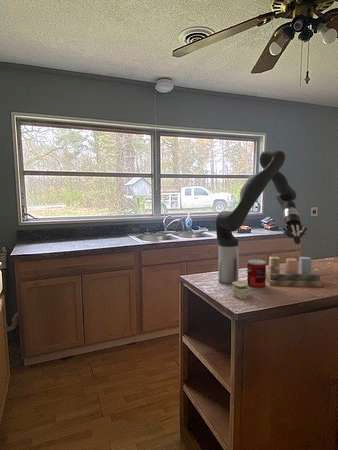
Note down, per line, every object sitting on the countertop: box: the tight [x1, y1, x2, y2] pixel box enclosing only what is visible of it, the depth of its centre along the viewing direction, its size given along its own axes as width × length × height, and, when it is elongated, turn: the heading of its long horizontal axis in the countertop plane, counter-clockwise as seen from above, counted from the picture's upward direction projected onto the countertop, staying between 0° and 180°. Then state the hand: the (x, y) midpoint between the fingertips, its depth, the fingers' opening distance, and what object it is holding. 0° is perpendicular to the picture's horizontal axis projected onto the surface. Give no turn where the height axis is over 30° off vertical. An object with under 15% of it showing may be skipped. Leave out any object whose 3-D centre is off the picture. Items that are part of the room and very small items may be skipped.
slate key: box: [298, 256, 312, 274], centre depth 133 cm, size 4×4×8 cm
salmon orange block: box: [285, 258, 299, 274], centre depth 131 cm, size 4×4×8 cm
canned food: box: [246, 259, 267, 289], centre depth 126 cm, size 8×8×11 cm
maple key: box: [268, 256, 281, 274], centre depth 135 cm, size 4×4×8 cm
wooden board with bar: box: [266, 271, 324, 288], centre depth 132 cm, size 22×16×4 cm
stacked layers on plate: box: [231, 280, 249, 300], centre depth 114 cm, size 10×9×6 cm
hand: (297, 243), depth 143 cm, fingers closed
